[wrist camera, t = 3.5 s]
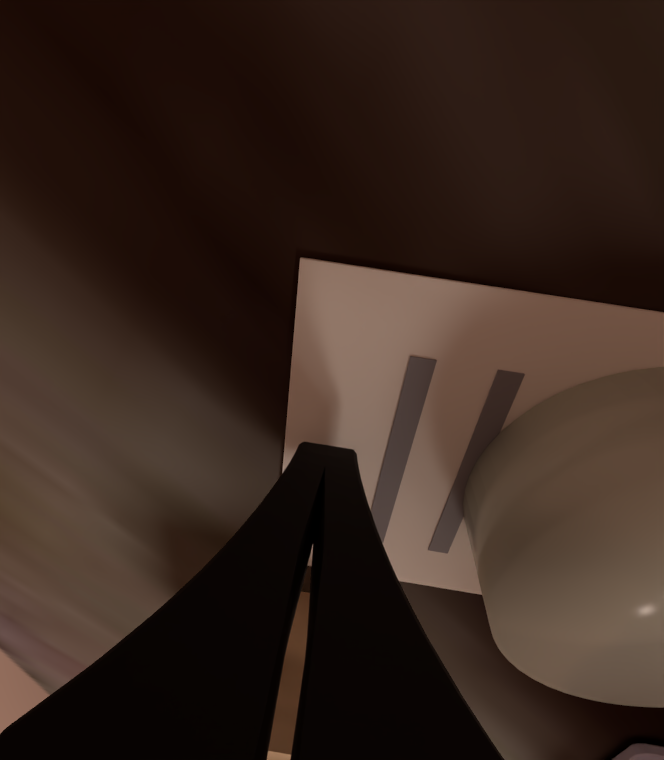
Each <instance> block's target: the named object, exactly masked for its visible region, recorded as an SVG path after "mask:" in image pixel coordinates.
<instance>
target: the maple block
mask: <svg viewBox="0 0 664 760" xmlns="http://www.w3.org/2000/svg"><path fill="white" fill-rule="evenodd" d="M309 598H310V593H307V592H301V593H300V597H299V600H298V604H297V608H296V612H295V616H294V620H293V624H292V628H291V632H290V636H289V640H288V645H287V649H286V654H285V658H284V664H283V670H282V675H281V681H280V687H279V692H278V698H277V704H276V709H275V715H274V721H273V727H272V732H271V738H270V744H269V750H268V755H267V760H290V759H291V752H292V745H293V738H294V731H295V724H296V717H297V711H298V704H299V697H300V690H301V683H302V676H303V669H304V662H305V652H306V642H307V628H308V613H309Z"/></svg>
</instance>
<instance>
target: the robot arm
mask: <svg viewBox="0 0 664 760" xmlns="http://www.w3.org/2000/svg"><path fill="white" fill-rule="evenodd" d="M312 546H313V553H312V568H311V583H310V598H309V613H308V628H307V642H306V652H305V662H304V669H303V676H302V683H301V690H300V697H299V704H298V711H297V717H296V724H295V731H294V738H293V745H292V752H291V759H290V760H504V759H503V757H502V756H501V754H500V753H499V751H498V750H497V749H496V747H495V746H494V744H493V743H492V741H491V740H490V738H489V737H488V735H487V734H486V732H485V730H484V729H483V727H482V726H481V724H480V723H479V721H478V720H477V718H476V717H475V715H474V713H473V712H472V710H471V709H470V707H469V706H468V704H467V703H466V701H465V700H464V698H463V696H462V695H461V693H460V691H459V690H458V688H457V686H456V685H455V683H454V681H453V680H452V678H451V676H450V675H449V673H448V671H447V669H446V668H445V666H444V664H443V663H442V661H441V659H440V658H439V656H438V654H437V653H436V651H435V649H434V648H433V646H432V644H431V643H430V641H429V639H428V637H427V635H426V634H425V632H424V630H423V628H422V626H421V624H420V622H419V620H418V619H417V617H416V615H415V613H414V611H413V609H412V607H411V605H410V603H409V601H408V599H407V597H406V595H405V593H404V591H403V589H402V587H401V585H400V583H399V581H398V578H397V576H396V574H395V572H394V570H393V567H392V565H391V563H390V560H389V558H388V556H387V553H386V551H385V548H384V546H383V543H382V541H381V538H380V536H379V533H378V531H377V528H376V525H375V522H374V519H373V516H372V513H371V510H370V507H369V505H368V501H367V498H366V495H365V491H364V488H363V484H362V480H361V476H360V471H359V466H358V460H357V453H356V452H355V451H354V450H353V449H348V448H342V447H336V446H330V445H323V444H317V443H311V442H305V441H304V442H302V443H300V444H299V445H298V448H297V450H296V452H295V454H294V456H293V457H292V459H291V461H290V463H289V464H288V466H287V467H286V469H285V470H284V472H283V473H282V475H281V476H280V478H279V479H278V481H277V482H276V484H275V485H274V486H273V488H272V489H271V490H270V492H269V493H268V494H267V496H266V497H265V499H264V500H263V501H262V503H261V504H260V505H259V506H258V508H257V509H256V510H255V511H254V512H253V514H252V515H251V516H250V517H249V518H248V520H247V521H246V522H245V523H244V524H243V526H242V527H241V528H240V529H239V530H238V531H237V533H236V534H235V535H234V536H233V537H232V538H231V539H230V540H229V541H228V543H227V544H226V545H225V546H224V547H223V548H222V549H221V550H220V551H219V552H218V553H217V554H216V555H215V556H214V557H213V558H212V559H211V560H210V561H209V562H208V563H207V564H206V566H205V567H204V568H203V569H202V570H201V571H199V572H198V573H197V574H196V575H195V576H194V577H193V578H192V579H191V580H190V581H189V582H188V583H187V584H186V585H185V586H184V587H183V588H181V589H180V590H179V591H178V592H177V593H176V594H175V595H174V596H173V597H172V598H171V599H170V600H169V601H167V602H166V603H165V604H164V605H163V606H162V607H161V608H160V609H158V610H157V611H156V612H155V613H154V614H153V615H152V616H150V617H149V618H148V619H147V620H146V621H144V622H143V623H142V624H141V625H139V626H138V627H137V628H136V629H135V630H133V631H132V632H131V633H130V634H129V635H127V636H126V637H125V638H124V639H122V640H121V641H120V642H119V643H118V644H116V645H115V646H114V647H113V648H112V649H110V650H109V651H108V652H107V653H106V654H104V655H103V656H102V657H101V658H99V659H98V660H97V661H95V662H94V663H93V664H92V665H90V666H89V667H88V668H86V669H85V670H84V671H82V672H81V673H80V674H78V675H77V676H76V677H74V678H73V679H72V680H70V681H69V682H68V683H66V684H65V685H64V686H62V687H61V688H59V689H58V690H57V691H55V692H54V693H53V694H51V695H50V696H49V697H47V698H46V699H45V700H43V701H42V702H41V703H39V704H38V705H37V706H35V707H34V708H32V709H31V710H30V711H28V712H27V713H26V714H24V715H23V716H22V717H20V718H19V719H18V720H17V721H15V722H14V723H12V724H11V725H10V726H8V727H7V728H6V729H5V730H3V732H2V733H1V734H0V760H267V755H268V750H269V744H270V738H271V732H272V727H273V721H274V715H275V709H276V704H277V698H278V692H279V687H280V681H281V675H282V670H283V664H284V658H285V654H286V649H287V645H288V640H289V636H290V632H291V628H292V624H293V620H294V616H295V612H296V608H297V604H298V600H299V597H300V593H301V589H302V585H303V581H304V577H305V573H306V569H307V565H308V561H309V558H310V554H311V550H312ZM612 760H664V746H658V745H652V744H646V743H636V744H632V745H630V746H629V747H628V748H626V749H625V750H624V751H622V752H621V753H620V754H618V755H617V756H616V757H614V758H613V759H612Z"/></svg>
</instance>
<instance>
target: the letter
mask: <svg viewBox="0 0 664 760" xmlns="http://www.w3.org/2000/svg"><path fill="white" fill-rule="evenodd" d="M657 367H664V312H659V311H652V310H645V309H639V308H632V307H626V306H619V305H613V304H606V303H599V302H593V301H586V300H580V299H573V298H567V297H560V296H553V295H547V294H540V293H534V292H527V291H520V290H514V289H507V288H501V287H494V286H488V285H481V284H474V283H468V282H461V281H455V280H448V279H442V278H435V277H428V276H422V275H415V274H409V273H402V272H396V271H389V270H382V269H376V268H369V267H363V266H356V265H349V264H343V263H336V262H330V261H323V260H317V259H310V258H303V257H301V258H300V265H299V277H298V289H297V302H296V314H295V326H294V338H293V350H292V362H291V374H290V386H289V398H288V410H287V422H286V434H285V446H284V458H283V470H282V473H283V472H284V470H285V469H286V467H287V466H288V464H289V463H290V461H291V459H292V457H293V456H294V454H295V452H296V450H297V448H298V445H299V444H300V443H302V442H304V441H305V442H311V443H317V444H323V445H330V446H336V447H342V448H348V449H353V450H354V451H355V452H356V453H357V460H358V466H359V471H360V476H361V480H362V484H363V488H364V491H365V495H366V498H367V501H368V505H369V507H370V510H371V513H372V516H373V519H374V522H375V525H376V528H377V531H378V533H379V536H380V538H381V541H382V543H383V546H384V548H385V551H386V553H387V556H388V558H389V560H390V563H391V565H392V567H393V570H394V572H395V574H396V576H397V578H398V581H402V582H408V583H414V584H420V585H426V586H432V587H438V588H444V589H450V590H456V591H462V592H468V593H474V594H480V595H482V591H481V587H480V583H479V579H478V575H477V570H476V566H475V562H474V558H473V554H472V549H471V545H470V541H469V537H468V533H467V528H466V524H465V520H464V513H463V499H464V492H465V488H466V484H467V481H468V478H469V475H470V473H471V471H472V469H473V467H474V466H475V464H476V462H477V460H478V459H479V457H480V456H481V455H482V453H483V452H484V450H485V449H486V447H487V446H488V445H489V444H490V443H491V442H492V441H493V440H494V439H495V438H496V437H497V435H498V434H499V433H500V432H501V431H503V430H504V429H505V428H506V427H507V426H508V425H510V424H511V423H512V422H513V421H514V420H515V419H517V418H518V417H520V416H521V415H523V414H524V413H526V412H527V411H529V410H530V409H531V408H533V407H534V406H536V405H538V404H540V403H542V402H543V401H545V400H547V399H549V398H551V397H553V396H554V395H556V394H559V393H561V392H563V391H566V390H568V389H570V388H573V387H575V386H577V385H580V384H583V383H586V382H589V381H592V380H595V379H599V378H602V377H605V376H609V375H614V374H618V373H623V372H628V371H632V370H640V369H649V368H657ZM312 553H313V546H312V550H311V554H310V558H309V561H308V565H307V566H312Z"/></svg>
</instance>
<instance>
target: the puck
mask: <svg viewBox="0 0 664 760" xmlns="http://www.w3.org/2000/svg"><path fill="white" fill-rule="evenodd" d="M463 513H464V520H465V524H466V528H467V533H468V537H469V541H470V545H471V549H472V554H473V558H474V562H475V566H476V570H477V575H478V579H479V583H480V587H481V591H482V596H483V600H484V604H485V608H486V612H487V617H488V621H489V625H490V629H491V633H492V636H493V639H494V641H495V643H496V645H497V646H498V648H499V650H500V651H501V652H502V654H503V655H504V656H505V657H506V659H507V660H508V661H509V662H510V663H512V664H513V665H514V666H515V667H516V668H517V669H518V670H520V671H521V672H523V673H524V674H526V675H527V676H529V677H530V678H532V679H534V680H536V681H538V682H540V683H542V684H544V685H546V686H548V687H550V688H553V689H556V690H558V691H561V692H564V693H567V694H570V695H574V696H577V697H581V698H584V699H589V700H594V701H599V702H604V703H611V704H618V705H625V706H638V707H660V708H664V367H657V368H649V369H640V370H632V371H628V372H623V373H618V374H614V375H609V376H605V377H602V378H599V379H595V380H592V381H589V382H586V383H583V384H580V385H577V386H575V387H573V388H570V389H568V390H566V391H563V392H561V393H559V394H556V395H554V396H553V397H551V398H549V399H547V400H545V401H543V402H542V403H540V404H538V405H536V406H534V407H533V408H531V409H530V410H529V411H527V412H526V413H524V414H523V415H521V416H520V417H518V418H517V419H515V420H514V421H513V422H512V423H511V424H510V425H508V426H507V427H506V428H505V429H504V430H503V431H501V432H500V433H499V434H498V435H497V437H496V438H495V439H494V440H493V441H492V442H491V443H490V444H489V445H488V446H487V447H486V449H485V450H484V452H483V453H482V455H481V456H480V457H479V459H478V460H477V462H476V464H475V466H474V467H473V469H472V471H471V473H470V475H469V478H468V481H467V484H466V488H465V492H464V499H463Z"/></svg>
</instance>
